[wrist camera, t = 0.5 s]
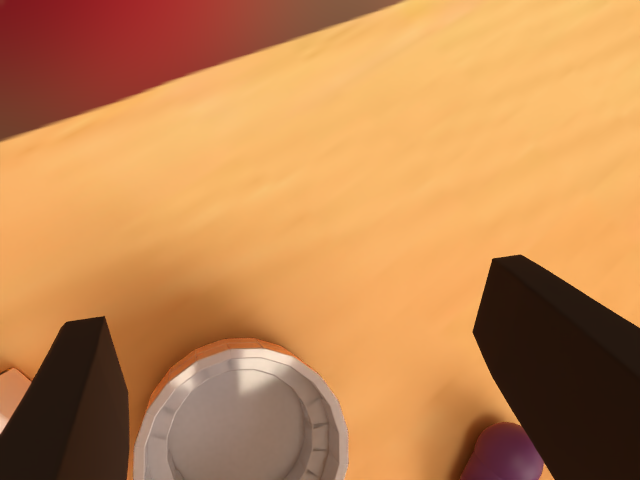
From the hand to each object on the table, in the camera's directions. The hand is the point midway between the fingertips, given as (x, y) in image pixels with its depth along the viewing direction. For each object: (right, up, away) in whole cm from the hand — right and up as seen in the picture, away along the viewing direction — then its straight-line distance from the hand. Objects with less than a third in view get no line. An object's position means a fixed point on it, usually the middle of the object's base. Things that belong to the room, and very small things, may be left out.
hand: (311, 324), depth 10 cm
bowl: (-5, -11, +26) cm, 29 cm away
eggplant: (+12, -15, +30) cm, 36 cm away
